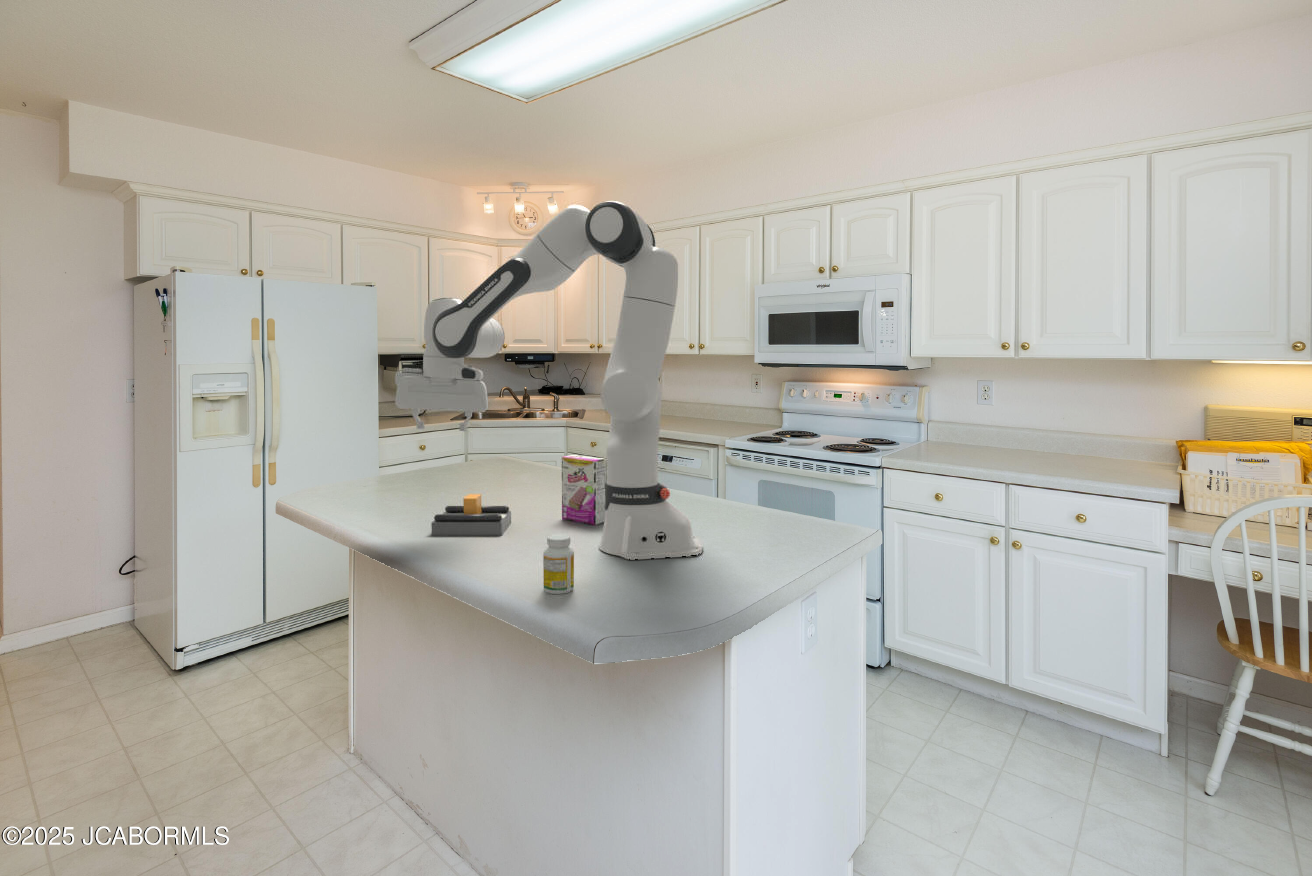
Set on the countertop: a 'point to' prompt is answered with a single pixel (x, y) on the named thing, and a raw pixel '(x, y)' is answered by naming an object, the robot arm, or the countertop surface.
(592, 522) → the candy bar box
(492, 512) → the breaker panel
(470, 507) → the block
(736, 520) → the countertop surface
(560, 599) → the countertop surface
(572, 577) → the supplement bottle
